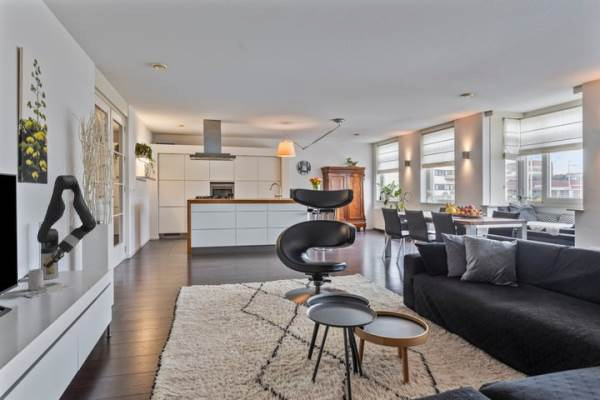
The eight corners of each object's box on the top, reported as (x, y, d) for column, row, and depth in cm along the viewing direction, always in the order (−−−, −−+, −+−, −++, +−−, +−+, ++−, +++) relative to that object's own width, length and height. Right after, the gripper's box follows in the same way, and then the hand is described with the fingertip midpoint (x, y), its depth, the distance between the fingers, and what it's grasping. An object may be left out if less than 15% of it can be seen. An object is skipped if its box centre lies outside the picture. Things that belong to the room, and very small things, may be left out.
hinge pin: (44, 274, 207) (43, 257, 206) (51, 272, 210) (50, 256, 210) (48, 275, 205) (47, 257, 205) (55, 273, 209) (54, 256, 208)
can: (45, 289, 213) (44, 269, 213) (29, 292, 208) (28, 271, 207) (42, 287, 218) (41, 267, 218) (27, 289, 213) (26, 269, 212)
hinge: (24, 296, 200) (23, 289, 200) (66, 285, 220) (66, 279, 220) (33, 298, 196) (32, 290, 196) (75, 287, 216) (74, 280, 216)
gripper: (59, 238, 217) (36, 261, 209) (67, 240, 208) (43, 264, 199) (70, 246, 222) (47, 268, 213) (77, 248, 212) (54, 272, 203)
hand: (45, 266), depth 206 cm, fingers closed on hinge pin, 4 cm apart
